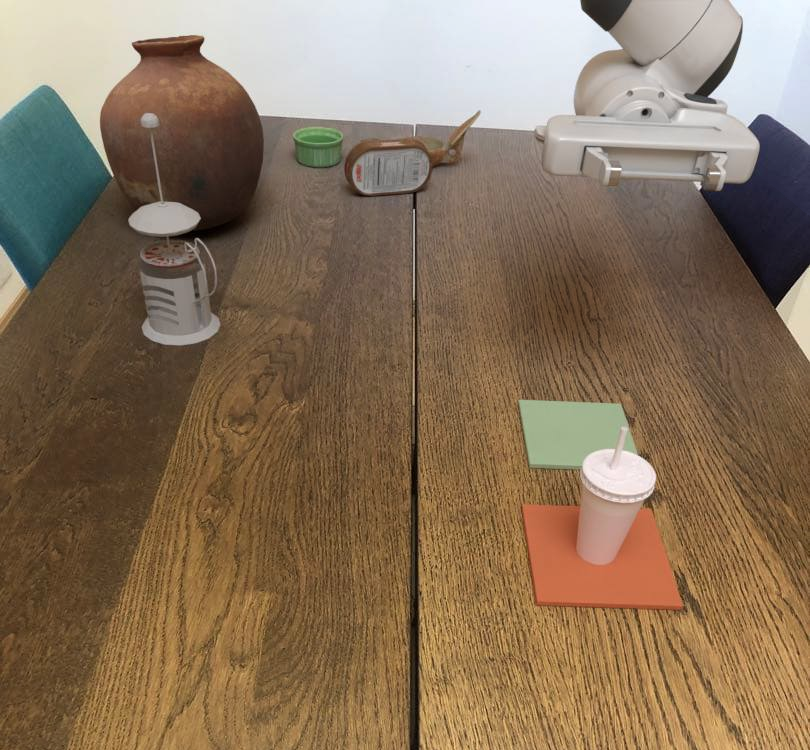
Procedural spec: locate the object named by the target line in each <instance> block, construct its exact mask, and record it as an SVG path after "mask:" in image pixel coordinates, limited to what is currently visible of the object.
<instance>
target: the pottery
mask: <svg viewBox="0 0 810 750" xmlns="http://www.w3.org/2000/svg"><path fill="white" fill-rule="evenodd" d="M205 40H206V39H205V37H204V36H203V35H198V34H189V35H178V36H169V37H157V38H146V39H142V40H140V39H139V40H136V41H132V42H131V46H132V48H133V49H134V51H136V52H137V53H138V54H139V56H140V61H139V62H138V64H137V65H136V66H135V67H134V68H133V69H132V70H131V71H130V72H128V73H127V74H126V75H125V76H124V77H122V79H120V81H119V82H117V84H116V85H114V86H113V88H112V89H111V90H110V92H109V93H108V94H107V96H106V98H105V100H104V102H103V105H102V107H101V109H100V113H99V129H100V130H99V131H100V135H101V140H102V144H103V148H104V152H105V155H106V156H105V157H106V159H107V162H108V165H109V168H110V171H111V172H112V175H113V177H114V179H115V182H116V184H117V187H118V188H119V190H120V192H121V194H122V195H123V197H124V198H125V200H126V201H127V203H128V204H129V205H130V206H131V208H132V209H133V210H134V212H135V211H137V210H138V209H139V208H140V207H142V206H145V205H149V204H152V203H156V202H160V201H161V198H160V192H159V186H158V179H157V173H156V166H155V160H154V154H153V147H152V141H151V134H150V128H147V127H143V126H141V118H142V116H143V115H144V114H145V113H153V114H155V115H156V116H157V118H158V120H159V126H157V127H153V128H152V133H153V140H154V146H155V153H156V159H157V166H158V172H159V178H160V185H161V191H162V198H163V202H176V203H181V204H183V205H185V206H187V207H189V208H191V209H193V210H194V211H196V212H198V213H199V215H200V218H201V219H200V220H199V222H198V224H197V226H196V228H194V229H192V230H191V231H190V232H192V231H202V230H207V229H211V228H215V227H219V226H221V225H224V224H226V223H228V222H230V221H232V220H233V219H235V218H236V217H238V216H239V215H240V214H242V213H243V212H244V211H245V210H246V209H247V208H248V207H249V205H251V203H252V201H253V199H254V197H255V195H256V191H257V187H258V185H259V180H260V176H261V172H262V168H263V163H264V153H265V152H264V148H265V140H264V129H263V125H262V122H261V118H260V115H259V112H258V110H257V107H256V104H255V103H254V101H253V99H252V98H251V96H250V95H249V93H248V92H247V90H246V89H245V87H244V86H243V85H242V84H241V83H240V82H239V80H237V79H236V78H235V77H234V76H233V75H232V74H231V73H230V72H229V71H227V70H226V69H224V68H223V67H221V66H219V64H216V63H215V62H212V61H211V60H209V59H208V58H206V57H205V56H204V55H203V54H202V52H201V48H202V45H203V44H204V43H205Z"/></svg>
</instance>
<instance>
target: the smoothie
mask: <svg viewBox="0 0 810 750" xmlns="http://www.w3.org/2000/svg"><path fill="white" fill-rule="evenodd" d="M627 431H628V428H627V427H622V428H621V431H620V434H619V438H618V441H617V445H616V449H603V450H598V451H595V452H593V453H591V454H589V455H588V456H587V457H586V458H585V459H584V461H583V465H582V468H581V470H579V475H580V476H579V478H580V480H581V482H582V483H581V494H580V505H579V506H580V514H579V525H578V535H577V546H576V550H577V553H578V555H579V556H580V557H581V558H582V559H583V560H585V561H587V562H589V563H591V564H596V565H605V564H608V563H610V562H612V561H613V560H614V559H615V557H616V555H617V553H618V551H619V549H620V547H621V545H622V543H623V541H624V539H625V537H626V535H627V533H628V531H629V529H630V527H631V525H632V523H633V521H634V519H635V517H636V515H637V513H638V512H639V510H640V508H641V507H642V506H643V504H644V502H645V500H646V499H648V498H649V497H650V496H651V495H652V493H654V489H655V484H656V481H657V473H656V471H655V469H654V467H653V466H652V465H651V463H649V462H648V460H646V459H645V458H643V457H642V456H640V455H639V454H638V455H636V454H634V453H631V452H628V451H624V450H622V449H623V445H624V442H625V438H626V435H627ZM641 509H642V508H641Z"/></svg>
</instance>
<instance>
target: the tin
mask: <svg viewBox="0 0 810 750" xmlns="http://www.w3.org/2000/svg"><path fill="white" fill-rule="evenodd" d="M343 165H344V167H343V171H344V176H345V179H346V181H347V182H348V184H349V185H350V186H351V188H352V189H353V190H355V192H357V193H358V194H360V195H362V196H366V197H376V196H390V195H404V194H414V193H417V192H418V191H420V190H422V189H423V188H424V187H425V186H426V185H427V184H428V182H429V181H430V180H431V177H432V174H433V169H434V166H433V161H432V157H431V155H430V153H429V152H428V150H427V148H426V147H425V145H424V144H423V143H421V142H420V141H418V140H416V139H403V138H394V139H384V140H367V141H363V142H359V143H357V144H356V145H354V146H353V147H352V148H351V150H349V152H348V153H347V156H346V157H345V160H344V164H343Z"/></svg>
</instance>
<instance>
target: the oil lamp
mask: <svg viewBox="0 0 810 750" xmlns="http://www.w3.org/2000/svg"><path fill="white" fill-rule="evenodd" d="M480 116H481V110H480V109H479V110H478V111H477V112H476V113H475V114H474V115H472V116H471V117H470V118H468V119H467V120H465V121H464V122H463V123H461V124H460V125H459V127H456V129H455V130H454V132H452V134H451V136H450V137H449V138H448V139H447V140H446V141H445V142H444V141H443V140H441V139H438V138H436V137H432V136H431V137H430V136H423V135H417V136H416V135H413V136H403V138H402V139H416V140H418V141H420V142H421V143H423V144H424V145H425V147H426V148H427V150H428V152H429V153H430V155H431V157H432V161H433V167H436V166H437V165H439V164H443V163H444V164H451V163H455V162H457V161H458V160H459V158H460V156H461V154H462V151H463V147H464V143H465V137H466V134H467V131H468V129H470V127H472V125H474V123H475V122H476V120H477V119H478V118H479V117H480ZM367 140H385V139H384V138H376V137H368V138H364V139H361V140H360V142H359V143H361V142H363V141H367ZM451 150H453V151H455V152H454V153H455V154H454V155H451V154H450V151H451Z"/></svg>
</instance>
